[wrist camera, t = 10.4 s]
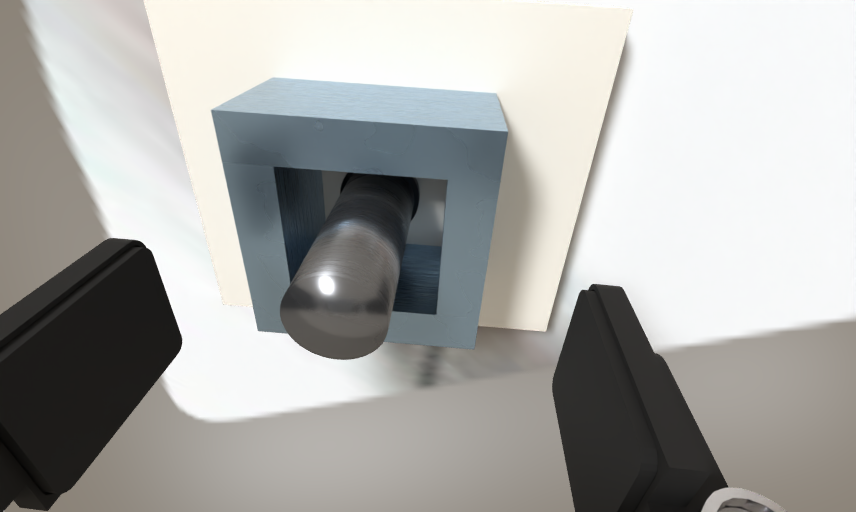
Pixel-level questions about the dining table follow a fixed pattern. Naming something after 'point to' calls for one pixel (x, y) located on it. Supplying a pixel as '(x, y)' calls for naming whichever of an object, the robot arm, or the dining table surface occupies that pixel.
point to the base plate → (422, 68)
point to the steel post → (352, 268)
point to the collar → (371, 154)
